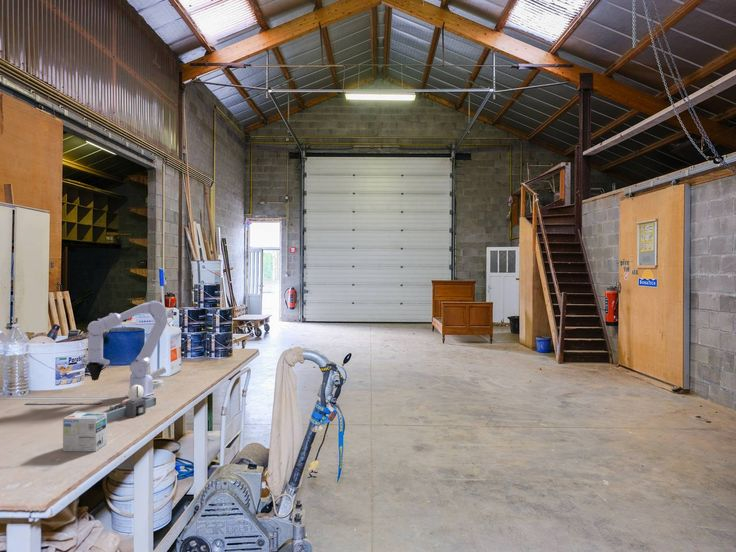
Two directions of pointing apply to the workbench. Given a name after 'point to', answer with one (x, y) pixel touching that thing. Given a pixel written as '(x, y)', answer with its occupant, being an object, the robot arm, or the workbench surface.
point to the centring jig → (131, 404)
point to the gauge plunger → (138, 409)
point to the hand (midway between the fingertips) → (95, 379)
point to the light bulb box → (84, 431)
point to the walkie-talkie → (118, 405)
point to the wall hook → (155, 374)
